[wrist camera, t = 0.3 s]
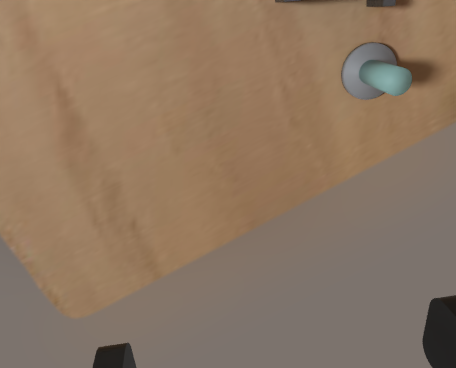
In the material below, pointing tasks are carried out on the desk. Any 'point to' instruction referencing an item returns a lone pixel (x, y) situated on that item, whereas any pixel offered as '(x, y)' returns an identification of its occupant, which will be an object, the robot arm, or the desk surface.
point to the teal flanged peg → (374, 72)
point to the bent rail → (372, 1)
